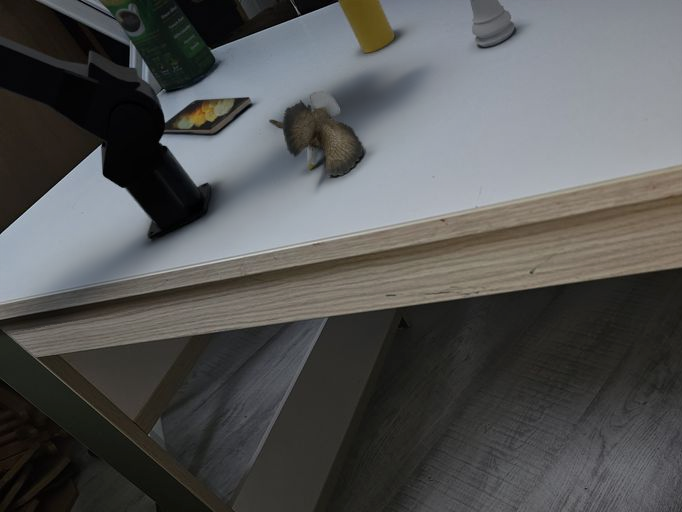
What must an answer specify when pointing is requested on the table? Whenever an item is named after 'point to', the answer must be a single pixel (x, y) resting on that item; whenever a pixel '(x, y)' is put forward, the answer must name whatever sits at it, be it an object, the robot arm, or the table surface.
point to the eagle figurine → (320, 133)
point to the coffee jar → (164, 40)
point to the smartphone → (206, 115)
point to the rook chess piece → (490, 22)
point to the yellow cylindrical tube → (368, 23)
